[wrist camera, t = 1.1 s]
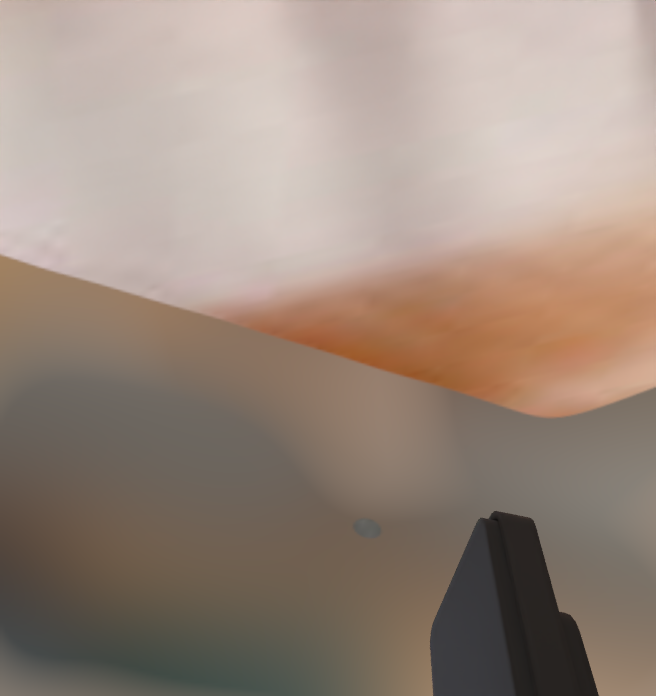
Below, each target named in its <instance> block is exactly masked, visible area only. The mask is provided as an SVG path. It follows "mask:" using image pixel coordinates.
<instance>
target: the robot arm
mask: <svg viewBox="0 0 656 696" xmlns="http://www.w3.org/2000/svg"><path fill="white" fill-rule="evenodd" d="M430 650H431V666H432V681H433V696H599V695H598V692H597V688H596V685H595V681H594V678H593V675H592V671H591V668H590V665H589V661H588V658H587V654H586V651H585V648H584V644H583V641H582V638H581V635H580V631H579V629H578V626H577V624H576V622H575V621H574V619H573V618H572V617H571V615H568V614H566V613H562V612H559V610H558V607H557V603H556V599H555V595H554V592H553V588H552V584H551V581H550V577H549V574H548V570H547V566H546V563H545V559H544V555H543V551H542V548H541V544H540V541H539V537H538V533H537V529H536V526H535V523H534V521H533V520H532V519H531V518H528V517H523V516H518V515H513V514H508V513H503V512H498V511H494V512H493V513H492V514H491V516H490V518H489V519H485V518H480V519H479V520H478V522H477V523H476V526H475V528H474V530H473V532H472V535H471V537H470V539H469V542H468V544H467V546H466V549H465V551H464V553H463V555H462V558H461V560H460V562H459V564H458V567H457V569H456V571H455V574H454V576H453V578H452V581H451V583H450V585H449V587H448V590H447V592H446V594H445V597H444V599H443V601H442V603H441V606H440V608H439V610H438V612H437V615H436V617H435V620H434V622H433V625H432V630H431V638H430Z"/></svg>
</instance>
